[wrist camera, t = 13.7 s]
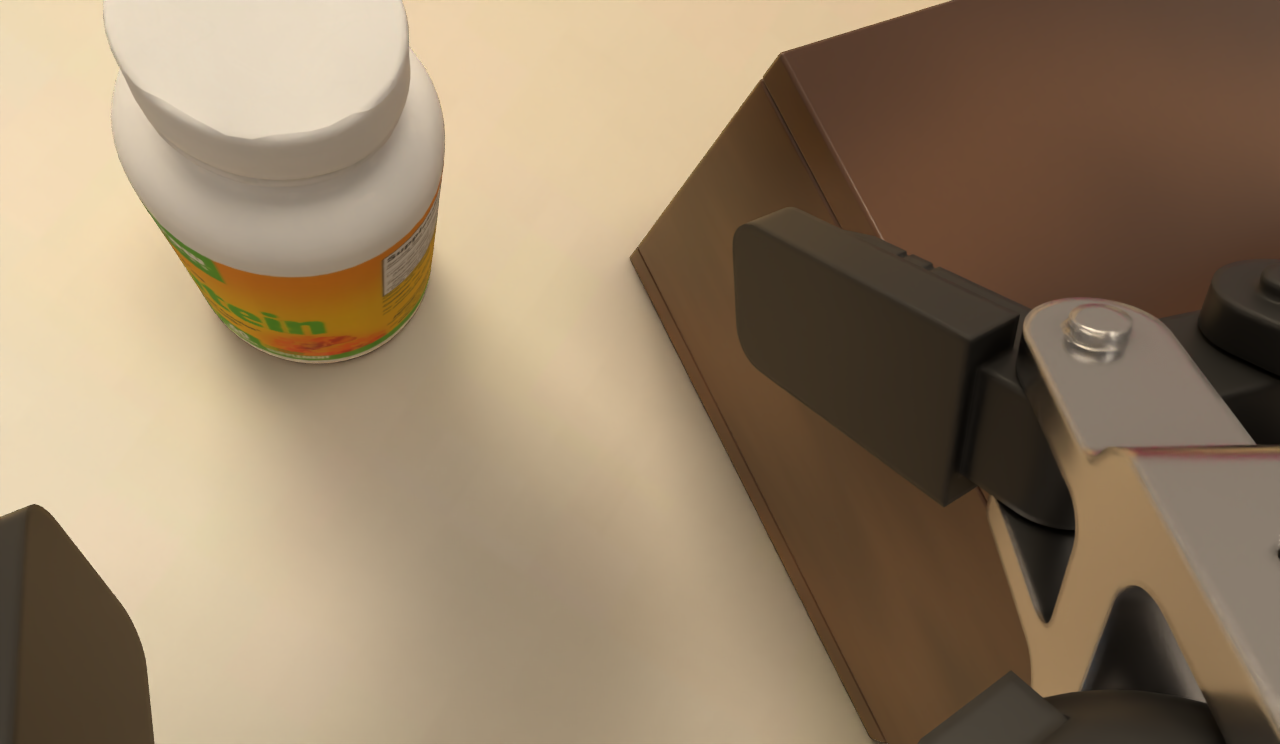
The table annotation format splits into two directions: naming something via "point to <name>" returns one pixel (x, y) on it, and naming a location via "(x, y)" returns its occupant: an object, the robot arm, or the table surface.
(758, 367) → the robot arm
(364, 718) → the table surface
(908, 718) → the cabinet
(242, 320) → the supplement bottle
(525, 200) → the table surface
